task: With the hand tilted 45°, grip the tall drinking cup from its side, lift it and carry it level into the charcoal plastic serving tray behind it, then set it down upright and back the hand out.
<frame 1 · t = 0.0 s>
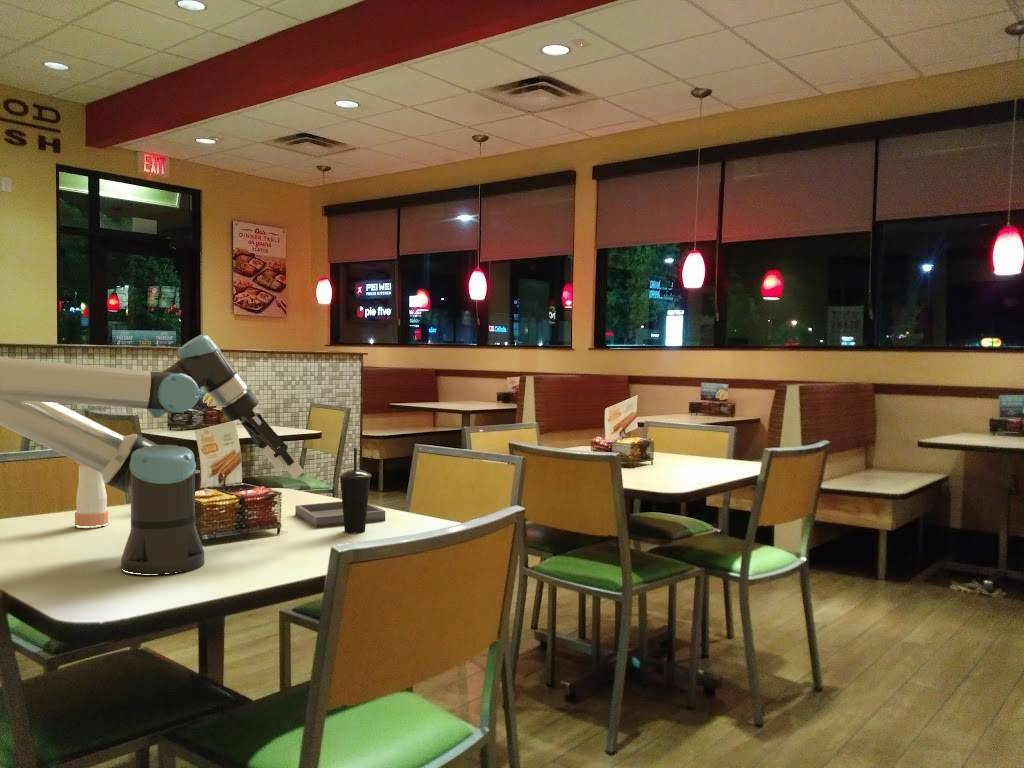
hand: (290, 471, 182), 15 cm above the table, tool tilted 35°, fingers open, 13 cm apart
coffee mug: (179, 508, 215), on the table
serving tray: (339, 517, 204), on the table
pepper shaker: (91, 526, 192), on the table
drinking cup: (355, 531, 189), on the table
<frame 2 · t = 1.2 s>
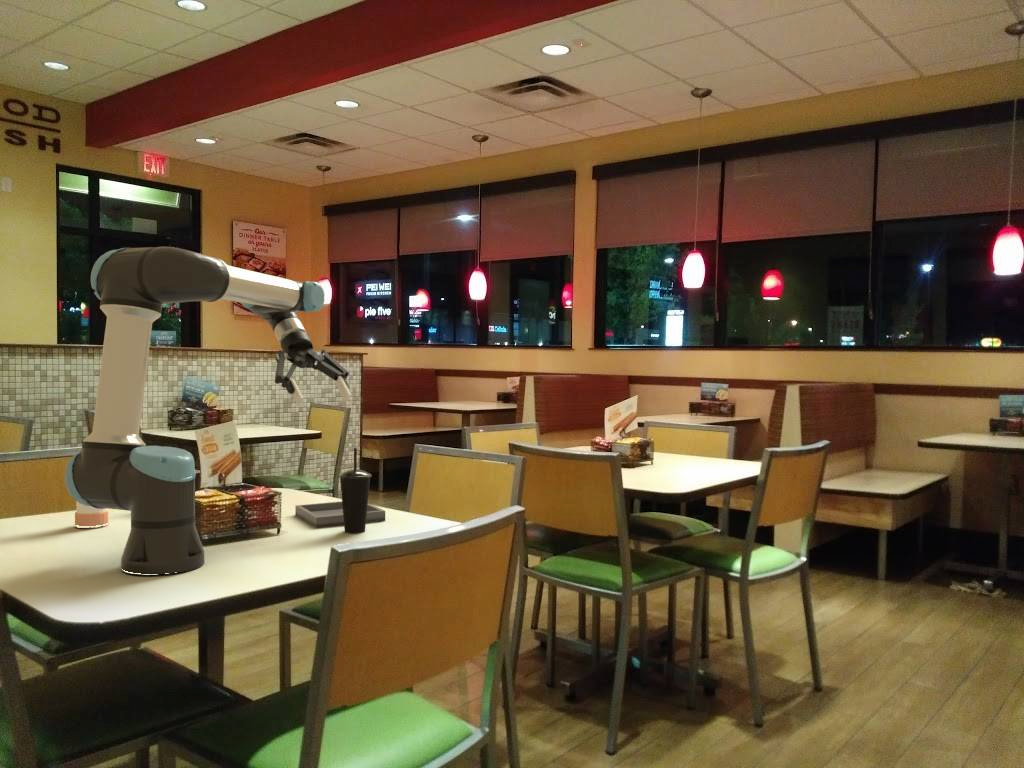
hand: (325, 400, 196), 31 cm above the table, tool tilted 45°, fingers open, 13 cm apart
nothing on the table moved.
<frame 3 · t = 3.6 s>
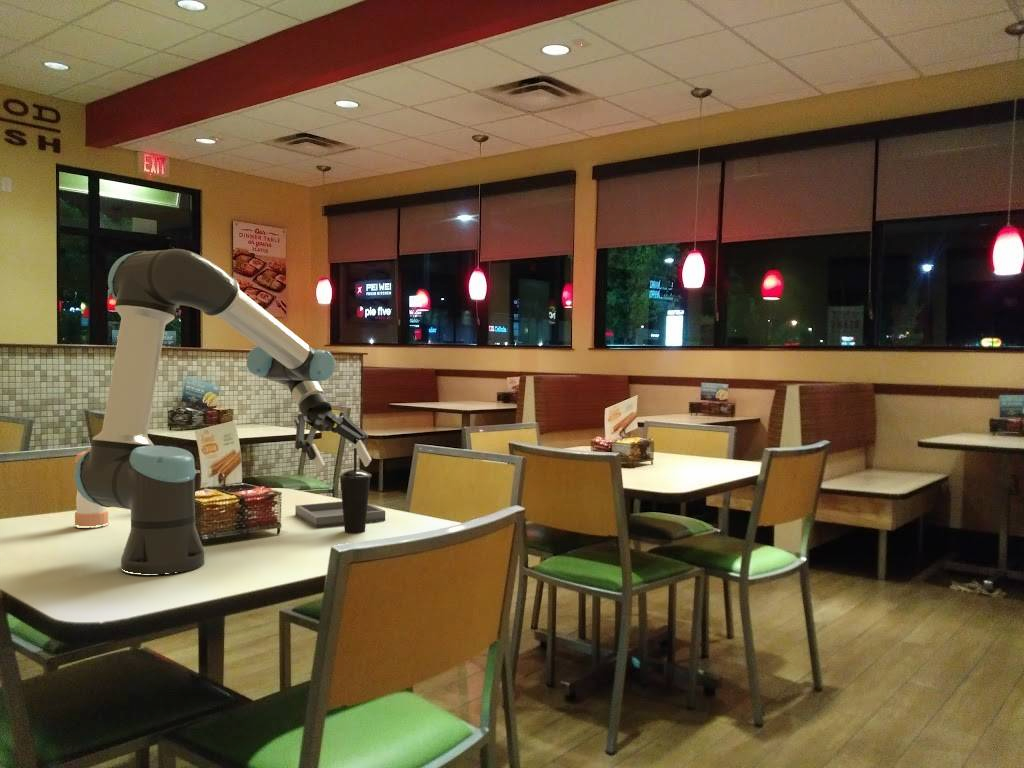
hand: (345, 465, 193), 15 cm above the table, tool tilted 45°, fingers open, 13 cm apart
nothing on the table moved.
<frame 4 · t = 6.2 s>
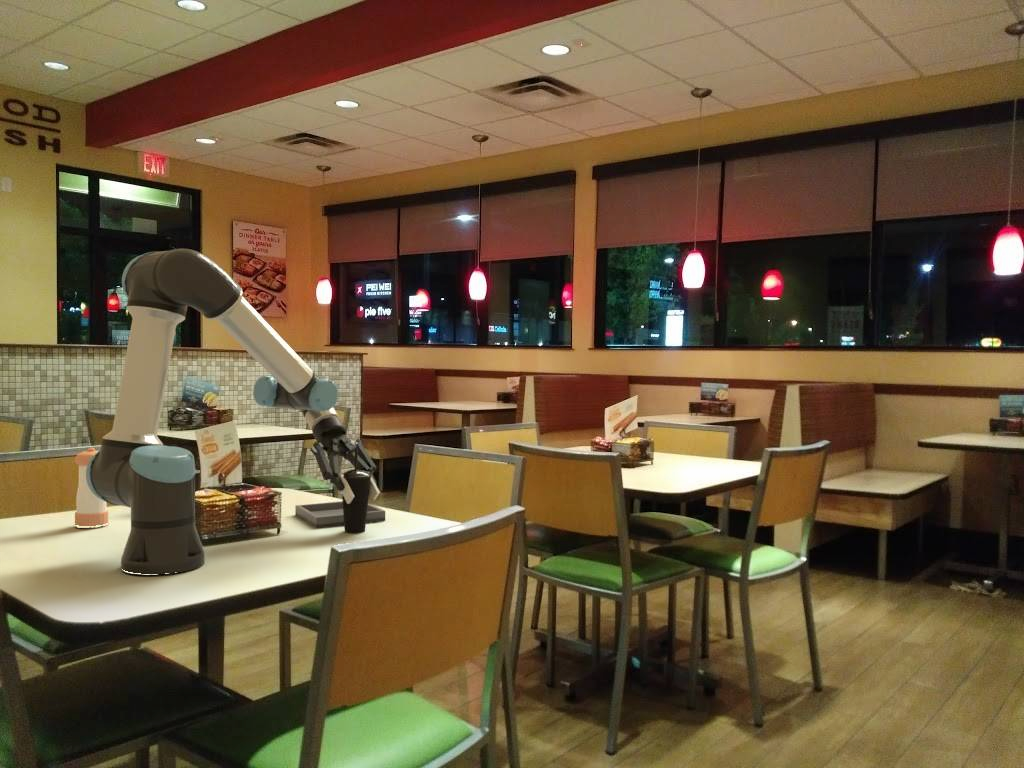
hand: (363, 498, 186), 8 cm above the table, tool tilted 45°, fingers closed on drinking cup, 7 cm apart
drinking cup: (354, 531, 189), on the table, touching gripper
everything else where it was.
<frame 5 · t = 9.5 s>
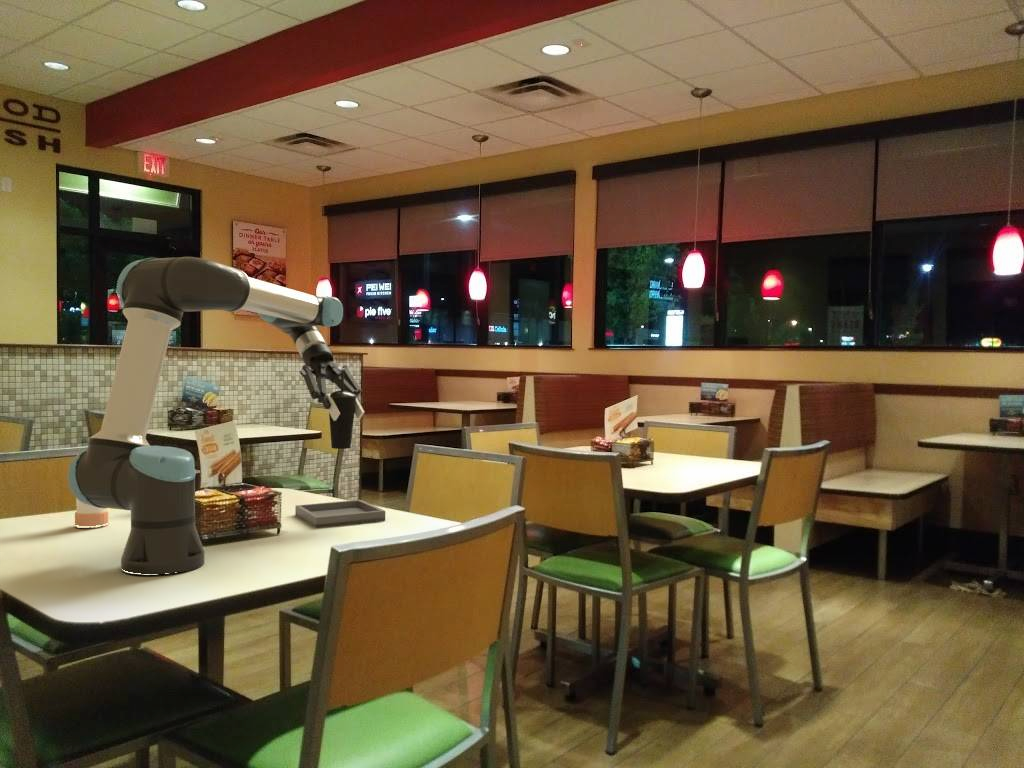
hand: (349, 416, 200), 27 cm above the table, tool tilted 45°, fingers closed on drinking cup, 7 cm apart
drinking cup: (341, 448, 203), point 18 cm above the table, touching gripper
everything else where it was.
when the fingers open (11 cm above the table, at t = 13.0 s): drinking cup drops 2 cm, resting on serving tray.
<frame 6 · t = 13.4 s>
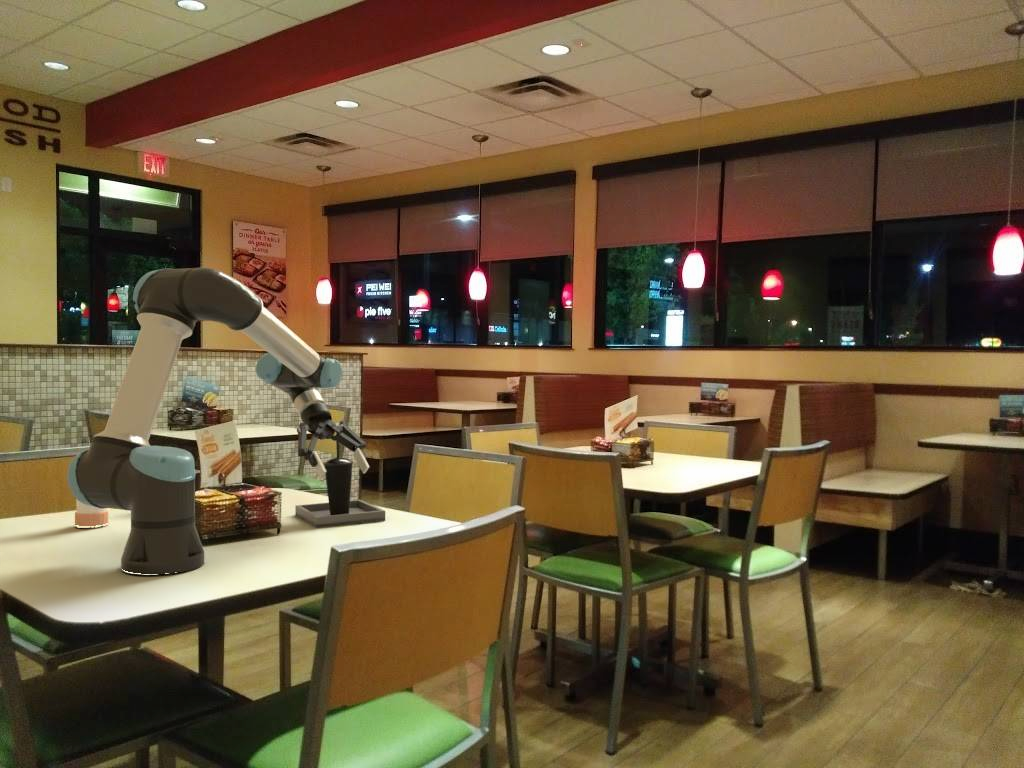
hand: (345, 472, 202), 12 cm above the table, tool tilted 45°, fingers open, 12 cm apart
drinking cup: (339, 514, 204), point 1 cm above the table, touching serving tray
everything else where it was.
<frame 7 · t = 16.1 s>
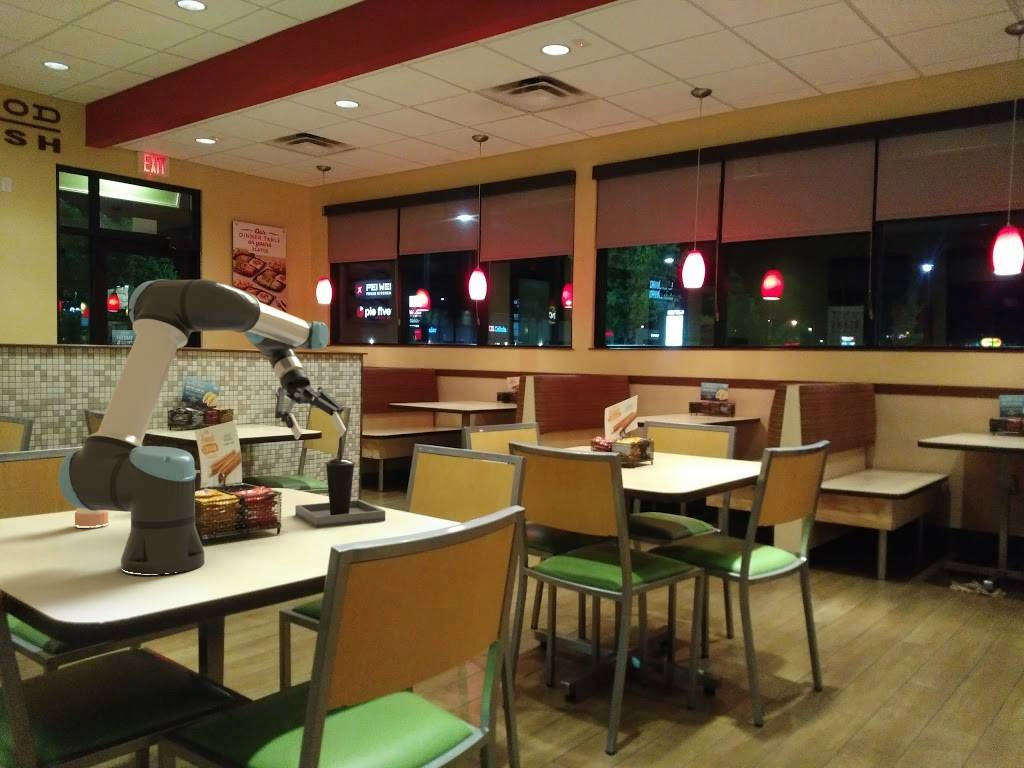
hand: (321, 434, 210), 21 cm above the table, tool tilted 45°, fingers open, 13 cm apart
nothing on the table moved.
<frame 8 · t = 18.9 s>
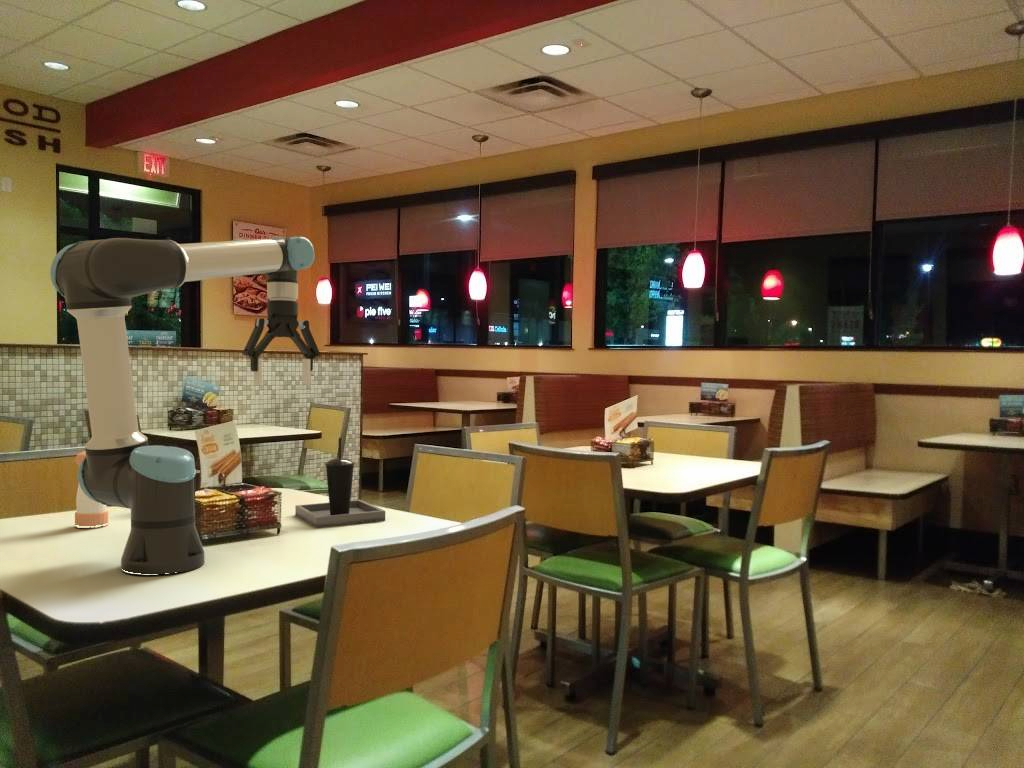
hand: (282, 384, 199), 35 cm above the table, tool pointing down, fingers open, 13 cm apart
nothing on the table moved.
at the end: drinking cup inside the target area on the serving tray (0.1 cm from its centre), point 0.6 cm above the serving tray's base; drinking cup tilted 0°; the gripper is holding nothing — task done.
